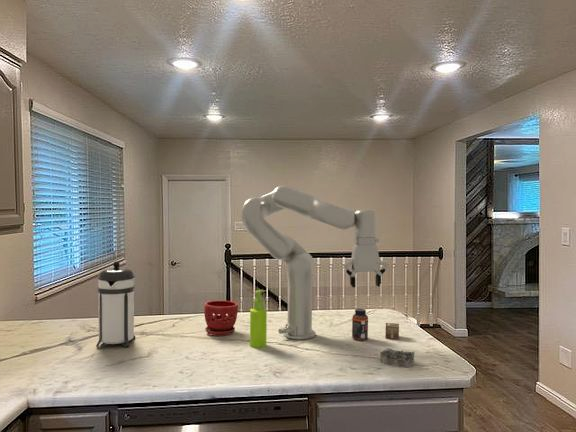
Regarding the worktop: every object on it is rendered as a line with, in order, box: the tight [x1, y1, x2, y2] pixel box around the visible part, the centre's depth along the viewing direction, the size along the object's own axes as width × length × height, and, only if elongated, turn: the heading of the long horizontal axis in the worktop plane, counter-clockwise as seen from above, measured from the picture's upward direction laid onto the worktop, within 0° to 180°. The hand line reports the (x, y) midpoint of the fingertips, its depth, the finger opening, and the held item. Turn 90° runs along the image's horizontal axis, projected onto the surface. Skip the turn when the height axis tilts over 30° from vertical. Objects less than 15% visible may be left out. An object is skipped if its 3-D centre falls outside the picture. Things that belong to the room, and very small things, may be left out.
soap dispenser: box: [249, 289, 268, 349], centre depth 167 cm, size 6×7×20 cm
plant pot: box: [203, 300, 239, 337], centre depth 183 cm, size 13×13×12 cm
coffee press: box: [95, 261, 136, 350], centre depth 168 cm, size 17×16×30 cm
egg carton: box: [380, 348, 416, 368], centre depth 151 cm, size 11×8×4 cm
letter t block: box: [384, 322, 400, 340], centre depth 179 cm, size 5×5×5 cm
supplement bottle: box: [351, 308, 369, 342], centre depth 177 cm, size 6×6×11 cm
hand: (365, 286), depth 176 cm, fingers open, 9 cm apart
